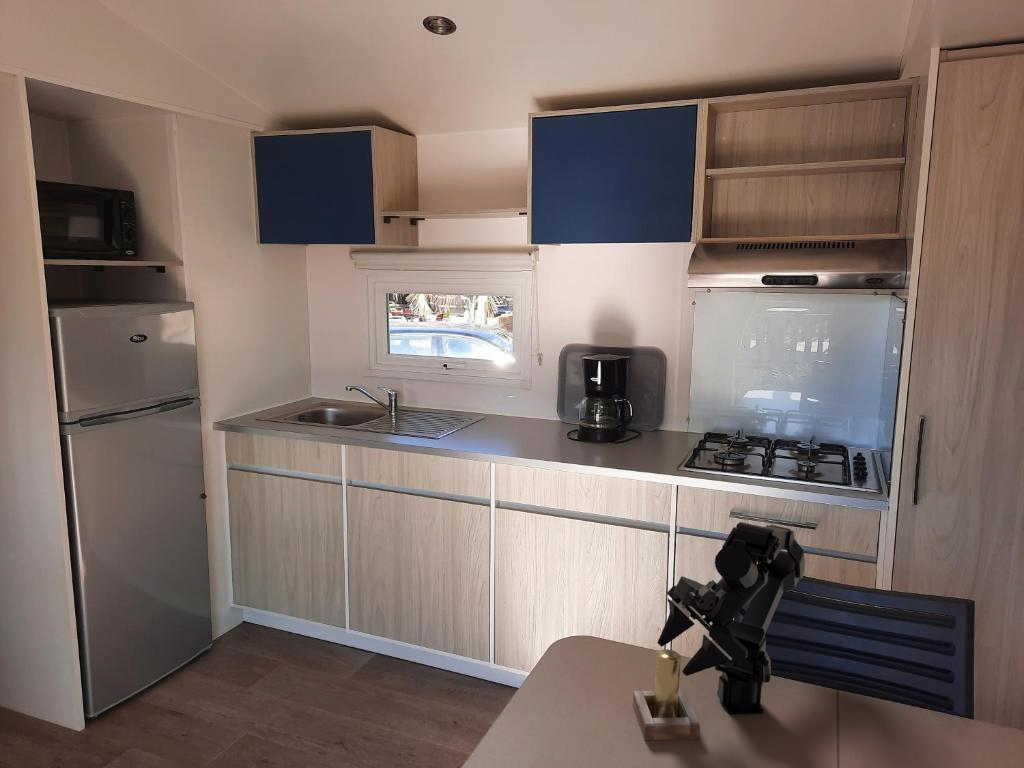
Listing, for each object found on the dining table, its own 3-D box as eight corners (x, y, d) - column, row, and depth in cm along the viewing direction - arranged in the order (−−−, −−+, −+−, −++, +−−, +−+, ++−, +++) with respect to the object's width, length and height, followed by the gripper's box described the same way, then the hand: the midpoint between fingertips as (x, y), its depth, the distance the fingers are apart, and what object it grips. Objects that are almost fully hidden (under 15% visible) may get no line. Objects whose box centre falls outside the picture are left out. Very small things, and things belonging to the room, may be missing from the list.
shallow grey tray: (683, 705, 130) (684, 689, 130) (699, 739, 121) (700, 722, 121) (632, 706, 130) (633, 690, 129) (644, 740, 121) (645, 724, 120)
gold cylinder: (673, 714, 128) (677, 649, 125) (679, 729, 124) (683, 662, 121) (651, 714, 127) (654, 649, 125) (656, 729, 124) (659, 662, 121)
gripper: (679, 542, 131) (619, 605, 130) (735, 588, 113) (667, 662, 112) (716, 578, 134) (658, 640, 133) (776, 629, 116) (709, 701, 116)
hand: (671, 658), depth 124 cm, fingers open, 9 cm apart
